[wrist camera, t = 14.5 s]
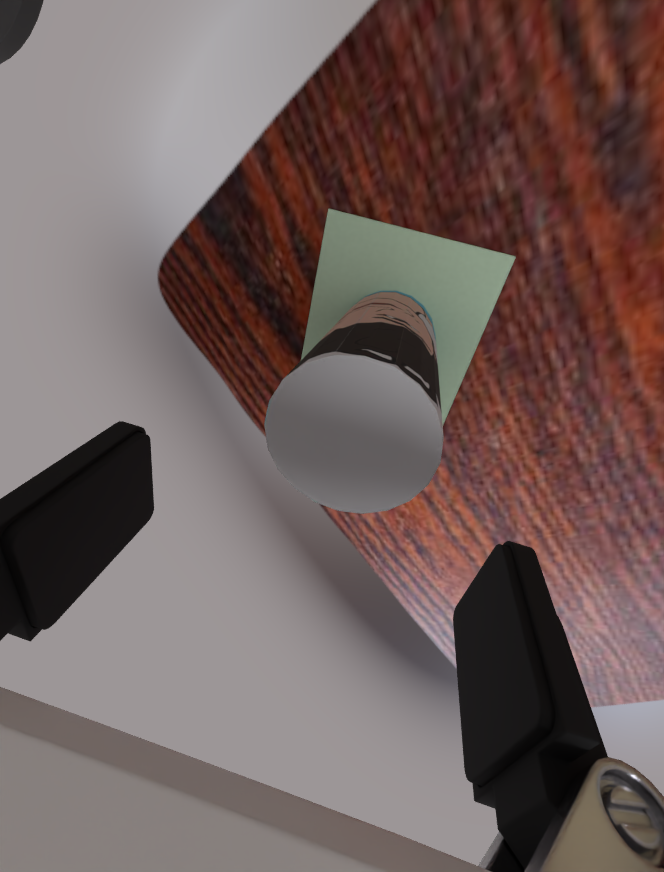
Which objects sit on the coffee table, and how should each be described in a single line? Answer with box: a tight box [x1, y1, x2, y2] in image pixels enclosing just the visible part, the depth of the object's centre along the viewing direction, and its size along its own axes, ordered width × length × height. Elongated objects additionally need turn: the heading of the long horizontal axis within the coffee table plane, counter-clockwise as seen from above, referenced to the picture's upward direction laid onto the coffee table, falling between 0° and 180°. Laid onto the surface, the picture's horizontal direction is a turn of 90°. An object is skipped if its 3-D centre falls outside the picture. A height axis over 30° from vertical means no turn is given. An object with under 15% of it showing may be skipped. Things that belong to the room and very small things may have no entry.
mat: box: [301, 209, 515, 425], centre depth 27 cm, size 12×14×1 cm
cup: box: [264, 291, 443, 514], centre depth 20 cm, size 7×7×15 cm
